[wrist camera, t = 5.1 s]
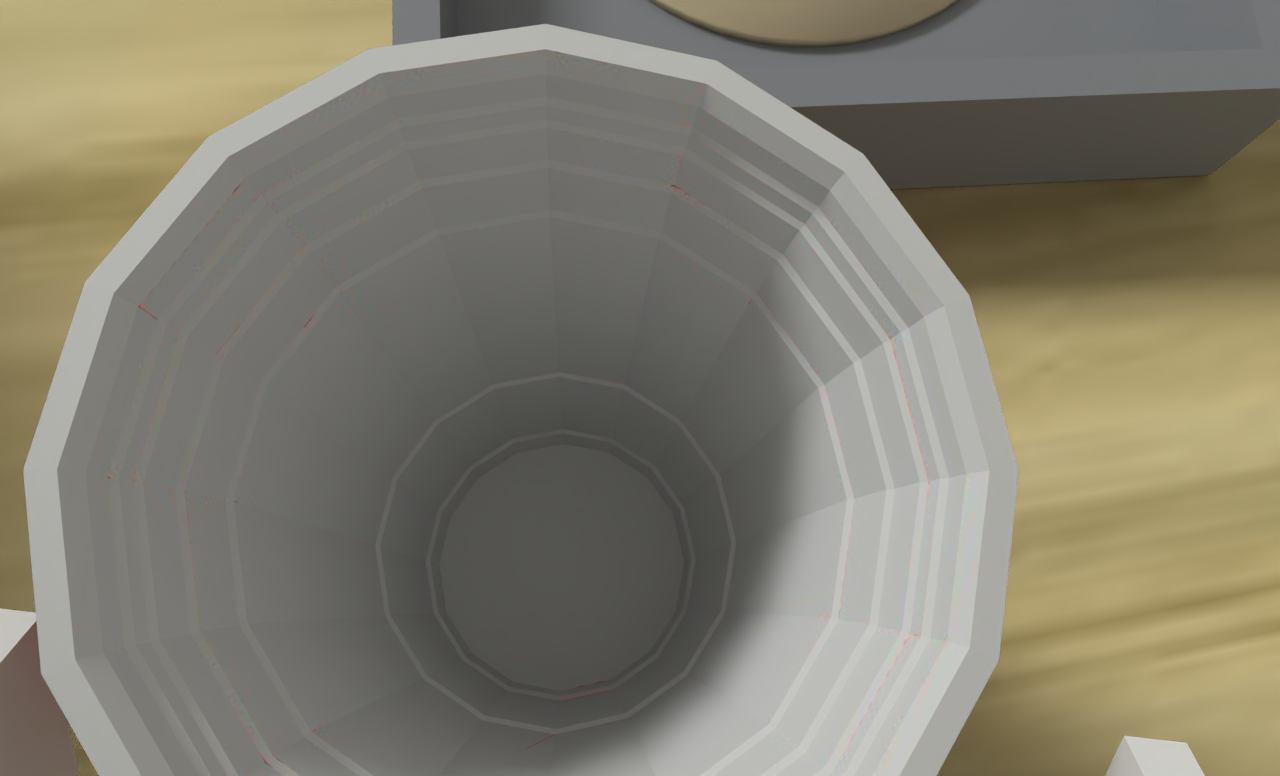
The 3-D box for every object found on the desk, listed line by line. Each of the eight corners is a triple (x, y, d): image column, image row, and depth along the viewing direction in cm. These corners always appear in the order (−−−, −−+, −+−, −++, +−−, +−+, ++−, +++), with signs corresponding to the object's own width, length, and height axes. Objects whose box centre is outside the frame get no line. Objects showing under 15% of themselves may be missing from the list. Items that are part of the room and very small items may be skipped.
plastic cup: (417, 932, 20) (174, 1287, 8) (253, 445, 22) (-103, 204, 11) (893, 707, 22) (1238, 744, 10) (690, 278, 24) (779, -87, 13)
